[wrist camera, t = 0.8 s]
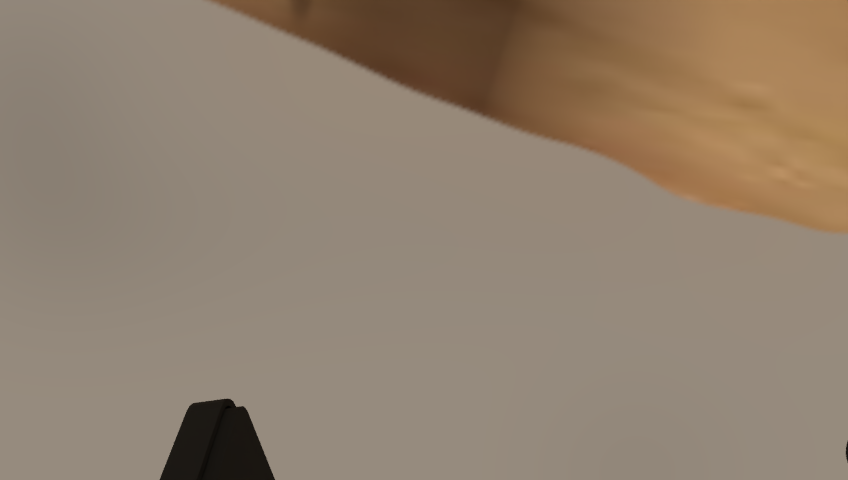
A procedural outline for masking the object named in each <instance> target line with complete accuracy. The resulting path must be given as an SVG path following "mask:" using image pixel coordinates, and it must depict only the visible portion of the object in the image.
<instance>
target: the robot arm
mask: <svg viewBox="0 0 848 480" xmlns="http://www.w3.org/2000/svg"><path fill="white" fill-rule="evenodd" d="M846 457H847V461H848V442H847V447H846ZM160 480H275V479H274V477H273V474H272V471H271V469H270V467H269V464H268V462H267V459H266V456H265V454H264V451H263V449H262V446H261V444H260V441H259V439H258V436H257V434H256V431H255V429H254V427H253V424H252V421H251V419H250V417H249V414H248V412H247V410H246V408H244V407H243V406H242V407H236V406H235V404H234V402H233V401H232V400H231V399H221V400H214V401H206V402H199V403H193V404H192V405H190V406H189V408H188V410H187V412H186V414H185V417H184V420H183V422H182V425H181V427H180V430H179V432H178V435H177V437H176V440H175V442H174V445H173V447H172V450H171V452H170V455H169V457H168V460H167V463H166V465H165V468H164V470H163V473H162V475H161V478H160Z"/></svg>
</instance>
